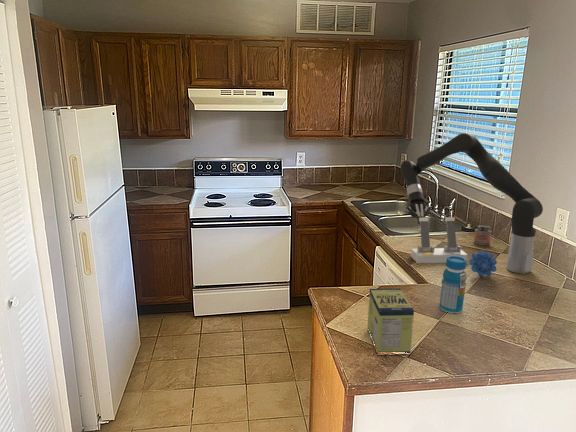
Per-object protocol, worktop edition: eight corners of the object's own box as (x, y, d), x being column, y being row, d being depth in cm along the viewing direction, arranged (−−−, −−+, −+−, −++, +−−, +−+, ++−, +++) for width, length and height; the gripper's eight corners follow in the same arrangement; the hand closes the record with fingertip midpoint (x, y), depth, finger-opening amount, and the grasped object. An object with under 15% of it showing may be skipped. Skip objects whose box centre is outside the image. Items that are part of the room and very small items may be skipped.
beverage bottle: (441, 313, 157) (447, 262, 151) (436, 302, 165) (442, 254, 160) (465, 315, 156) (472, 264, 150) (459, 304, 164) (465, 255, 158)
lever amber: (429, 251, 207) (427, 218, 210) (431, 251, 205) (428, 217, 208) (420, 251, 207) (418, 218, 210) (422, 251, 205) (419, 217, 208)
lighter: (473, 243, 230) (475, 225, 227) (473, 241, 233) (476, 224, 230) (489, 245, 226) (492, 227, 224) (489, 244, 229) (492, 226, 226)
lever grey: (456, 251, 208) (453, 217, 210) (457, 251, 206) (455, 217, 209) (447, 251, 208) (444, 217, 210) (448, 251, 206) (446, 217, 208)
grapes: (469, 279, 186) (473, 253, 183) (466, 273, 192) (469, 247, 189) (498, 281, 184) (502, 255, 181) (493, 274, 191) (497, 249, 187)
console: (458, 255, 213) (459, 242, 211) (466, 262, 204) (468, 249, 203) (410, 256, 212) (411, 243, 210) (416, 263, 203) (418, 250, 201)
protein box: (396, 329, 147) (400, 287, 143) (410, 355, 132) (415, 310, 128) (366, 329, 147) (369, 287, 142) (377, 356, 132) (380, 310, 127)
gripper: (404, 191, 217) (410, 221, 208) (430, 190, 217) (437, 220, 209) (400, 198, 223) (406, 228, 215) (425, 198, 224) (432, 227, 216)
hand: (421, 224), depth 212 cm, fingers closed
